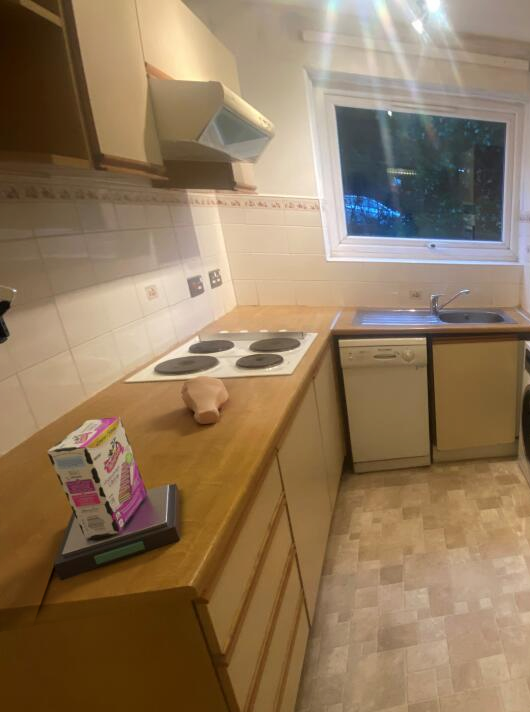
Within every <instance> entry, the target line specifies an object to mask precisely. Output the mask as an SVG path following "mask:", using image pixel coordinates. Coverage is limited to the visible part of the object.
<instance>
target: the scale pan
mask: <svg viewBox="0 0 530 712" xmlns="http://www.w3.org/2000/svg"><path fill="white" fill-rule="evenodd" d="M169 485H170V484H164V485H161V486H157V487H154V488H150V489H146V491H147V496H146V497H145V498H144V500H143V501H142V503H141V504H140V505H139V507H138V508H137V509H136V511H135V512H134V514H133V515H132V516H131V518H130V519H129V520H128V522H127V523H126V525H125V526H124V527H123V529H122V530H121V532H120V533H118V534H113V535H107V536H100V537H94V538H88V539H85V538H84V535H83V533H82V530H81V528H80V526H79V524H78V521H77V519H76V517H75V518H74V521H73V524H72V527H71V530H70V533H69V535H68V538H67V541H66V544H65V547H64V550H63V553H62V555H63V557H64V558H65V557H68V556H72V555H75V554H78V553H81V552H84V551H88V550H91V549H94V548H97V547H100V546H104V545H107V544H110V543H113V542H116V541H120V540H123V539H126V538H129V537H132V536H136V535H139V534H142V533H145V532H148V531H152V530H155V529H158V528H161V527H164V526H167V525H168V509H169V489H170V487H169Z"/></svg>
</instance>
